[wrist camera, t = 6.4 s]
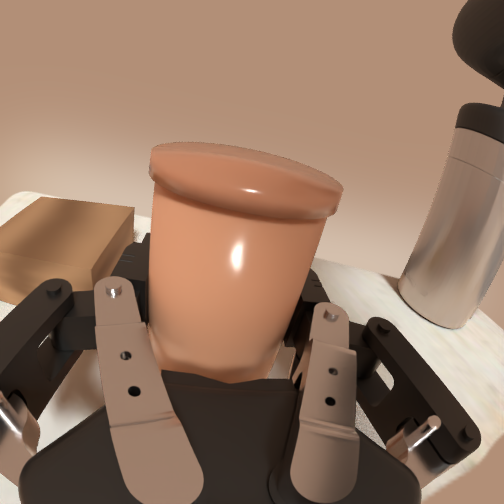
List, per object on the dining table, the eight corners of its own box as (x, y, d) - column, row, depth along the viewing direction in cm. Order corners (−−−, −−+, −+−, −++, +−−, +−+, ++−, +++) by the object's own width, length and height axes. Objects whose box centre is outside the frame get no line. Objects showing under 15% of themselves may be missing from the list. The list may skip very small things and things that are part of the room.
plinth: (132, 252, 23) (134, 207, 21) (98, 326, 15) (91, 269, 13) (44, 238, 21) (41, 196, 19) (-9, 297, 13) (-23, 246, 12)
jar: (253, 355, 16) (311, 162, 11) (265, 441, 11) (378, 212, 6) (155, 345, 15) (170, 136, 10) (141, 432, 10) (123, 167, 5)
